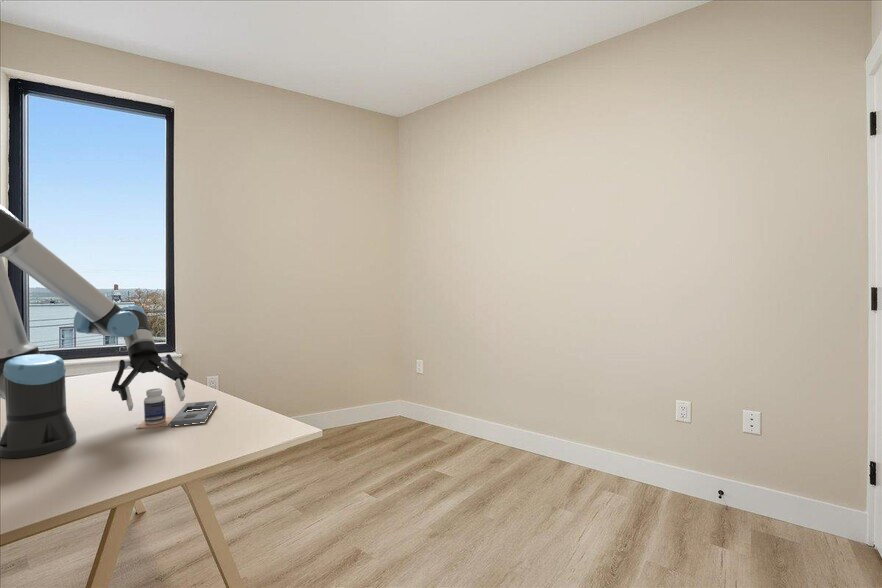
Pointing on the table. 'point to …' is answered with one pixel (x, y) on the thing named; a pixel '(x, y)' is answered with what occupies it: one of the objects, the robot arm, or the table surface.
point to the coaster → (155, 424)
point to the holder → (193, 413)
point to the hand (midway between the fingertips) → (157, 403)
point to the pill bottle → (154, 407)
